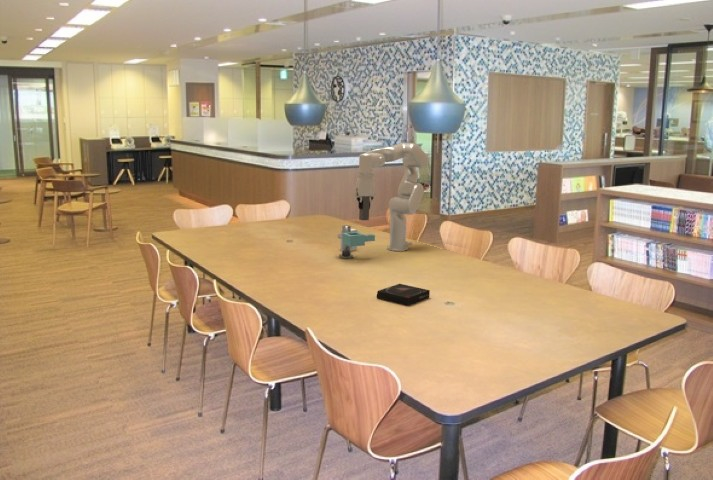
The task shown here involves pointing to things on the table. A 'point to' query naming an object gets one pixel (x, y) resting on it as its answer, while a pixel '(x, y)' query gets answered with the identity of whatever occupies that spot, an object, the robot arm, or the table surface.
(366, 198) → the steel wedge pin
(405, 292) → the portable cd player
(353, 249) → the supplement box
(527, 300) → the table surface
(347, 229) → the grey tall round-topped piece
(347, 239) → the teal square frame handle
